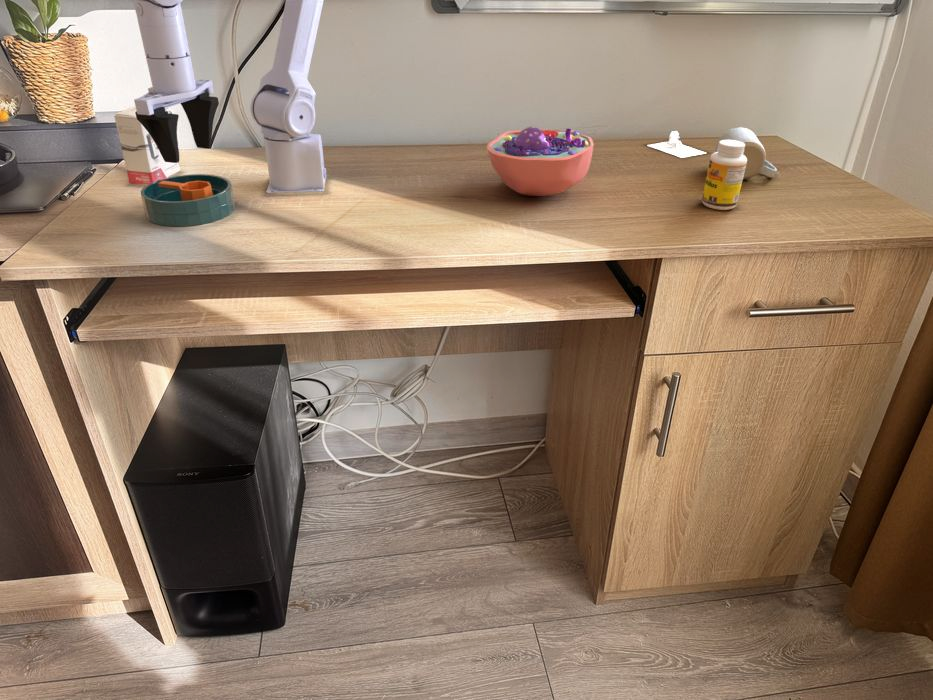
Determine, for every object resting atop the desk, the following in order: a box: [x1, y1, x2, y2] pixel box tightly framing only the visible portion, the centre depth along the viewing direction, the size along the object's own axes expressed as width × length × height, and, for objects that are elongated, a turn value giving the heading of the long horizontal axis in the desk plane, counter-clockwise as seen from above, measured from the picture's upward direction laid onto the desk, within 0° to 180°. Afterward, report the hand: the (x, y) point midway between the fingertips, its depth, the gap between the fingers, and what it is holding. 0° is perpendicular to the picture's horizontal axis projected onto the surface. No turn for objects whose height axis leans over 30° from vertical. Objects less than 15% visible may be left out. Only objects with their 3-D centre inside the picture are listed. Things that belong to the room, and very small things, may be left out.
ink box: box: [114, 105, 181, 186], centre depth 117 cm, size 9×5×12 cm, turn 168°
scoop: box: [158, 181, 213, 201], centre depth 105 cm, size 8×4×4 cm, turn 73°
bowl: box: [140, 173, 236, 227], centre depth 105 cm, size 13×13×4 cm
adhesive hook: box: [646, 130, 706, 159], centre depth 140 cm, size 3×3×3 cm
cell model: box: [486, 126, 595, 197], centre depth 114 cm, size 17×20×11 cm
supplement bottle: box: [701, 140, 747, 211], centre depth 109 cm, size 6×6×10 cm
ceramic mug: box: [714, 126, 778, 180], centre depth 124 cm, size 11×8×8 cm
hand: (188, 154), depth 101 cm, fingers open, 7 cm apart
